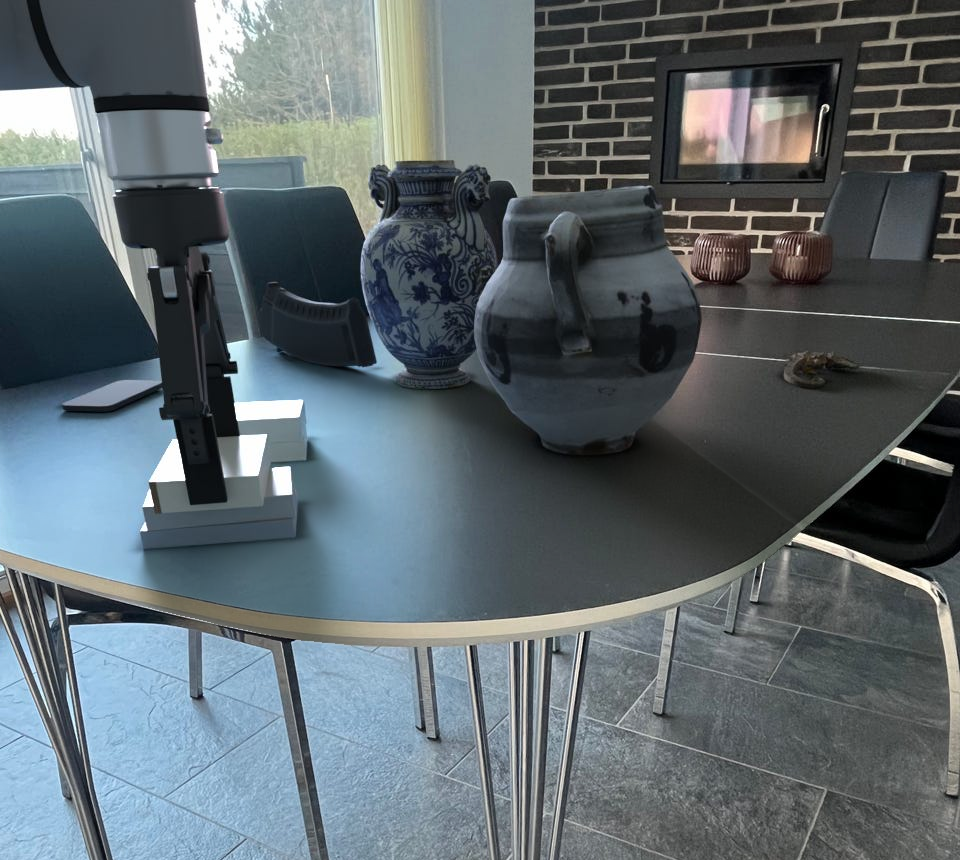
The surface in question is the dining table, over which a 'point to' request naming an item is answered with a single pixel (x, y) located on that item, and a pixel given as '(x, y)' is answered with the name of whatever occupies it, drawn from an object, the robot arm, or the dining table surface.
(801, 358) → the seahorse
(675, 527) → the dining table surface
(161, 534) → the white box
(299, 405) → the white books
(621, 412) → the ceramic pot
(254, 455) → the white book
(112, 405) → the phone
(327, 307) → the magazine
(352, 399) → the dining table surface
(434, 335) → the decorative vase
